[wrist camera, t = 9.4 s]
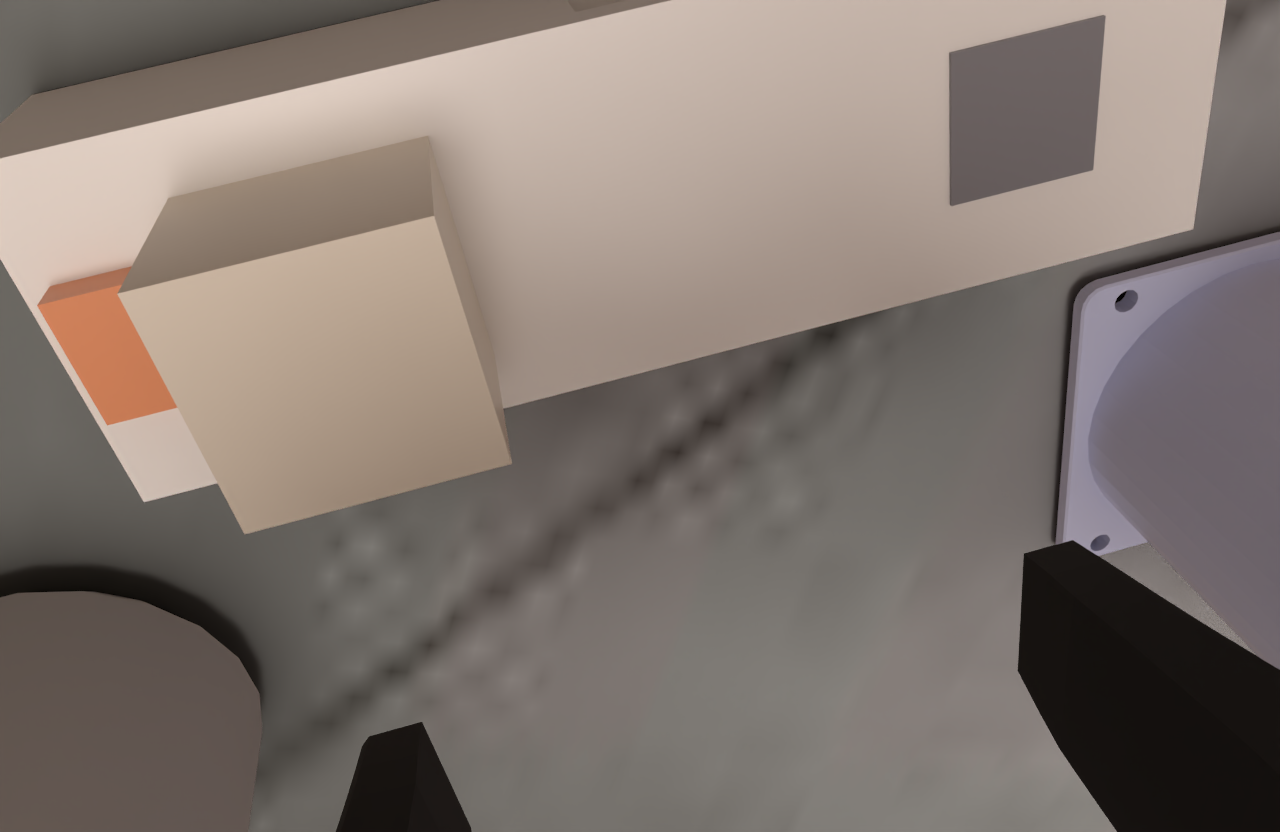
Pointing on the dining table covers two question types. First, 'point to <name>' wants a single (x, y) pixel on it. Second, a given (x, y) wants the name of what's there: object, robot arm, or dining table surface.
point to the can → (121, 719)
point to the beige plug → (321, 334)
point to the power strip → (635, 168)
